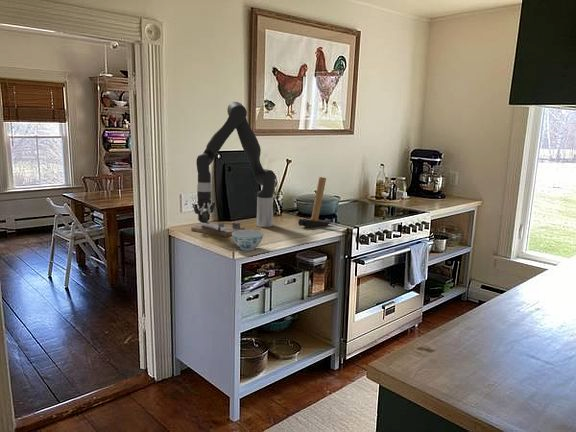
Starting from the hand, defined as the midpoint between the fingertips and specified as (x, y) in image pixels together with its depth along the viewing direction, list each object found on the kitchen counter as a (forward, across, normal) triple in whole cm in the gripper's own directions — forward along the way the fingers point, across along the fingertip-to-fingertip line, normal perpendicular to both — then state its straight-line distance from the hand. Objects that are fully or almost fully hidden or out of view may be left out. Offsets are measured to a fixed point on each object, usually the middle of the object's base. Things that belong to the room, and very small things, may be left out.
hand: (204, 220), depth 253 cm
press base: (+5, +5, -7) cm, 10 cm away
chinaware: (+5, -7, -46) cm, 47 cm away
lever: (+3, 0, -7) cm, 8 cm away
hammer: (+5, +56, -33) cm, 65 cm away
